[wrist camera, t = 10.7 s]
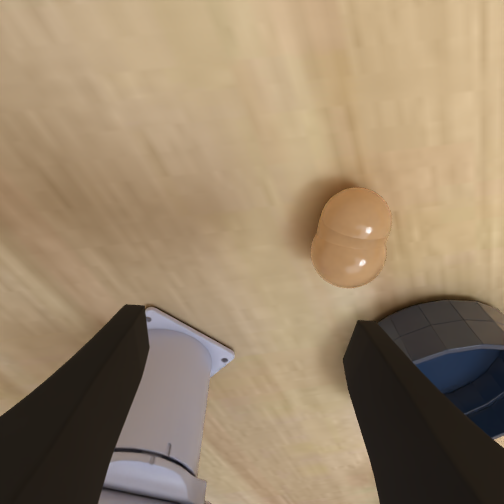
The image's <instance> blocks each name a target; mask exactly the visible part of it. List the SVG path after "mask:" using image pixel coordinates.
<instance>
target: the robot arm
mask: <svg viewBox="0 0 504 504" xmlns="http://www.w3.org/2000/svg"><path fill="white" fill-rule="evenodd" d="M147 317H150V318H147ZM234 355H235V353H234V351H232V350H231V349H229V348H227V347H225V346H224V345H222V344H220V343H218V342H216V341H214V340H213V339H211V338H209V337H207V336H205V335H204V334H202V333H200V332H198V331H196V330H195V329H193V328H191V327H189V326H187V325H186V324H184V323H182V322H180V321H178V320H177V319H175V318H173V317H171V316H169V315H167V314H166V313H164V312H162V311H160V310H158V309H157V308H154V307H148V308H147V309H146V310H145V306H141V305H127V304H126V305H125V306H123V307H122V308H121V309H120V310H119V311H118V312H117V313H116V314H115V315H114V316H113V318H112V319H111V320H110V321H109V322H108V323H107V324H106V325H105V326H104V327H103V328H102V329H101V330H100V331H99V332H98V333H97V334H96V335H95V336H94V337H93V338H92V339H91V340H90V341H89V342H88V343H86V344H85V345H84V346H83V347H82V348H81V349H80V350H79V351H78V352H77V353H76V354H75V355H74V356H73V357H72V358H71V359H70V360H68V361H67V362H66V363H65V364H64V365H63V366H62V367H61V368H59V369H58V370H57V371H56V372H55V373H54V374H53V375H51V376H50V377H49V378H48V379H47V380H46V381H45V382H43V383H42V384H41V385H40V386H39V387H37V388H36V389H35V390H34V391H33V392H31V393H30V394H29V395H28V396H26V397H25V398H24V399H23V400H21V401H20V402H19V403H17V404H16V405H15V406H14V407H12V408H11V409H10V410H8V411H7V412H6V413H4V414H3V415H2V416H0V504H211V503H210V502H208V501H205V492H206V483H207V482H206V481H205V480H202V479H199V478H197V474H198V467H199V459H200V451H201V444H202V436H203V428H204V420H205V413H206V405H207V397H208V389H209V382H210V377H212V376H213V375H214V374H215V373H217V372H218V371H219V370H220V369H222V368H223V367H224V366H225V365H227V364H228V363H229V362H230V361H232V360H233V359H234ZM343 363H344V369H345V375H346V380H347V386H348V390H349V394H350V397H351V400H352V404H353V407H354V410H355V413H356V417H357V420H358V423H359V426H360V429H361V433H362V436H363V439H364V442H365V446H366V449H367V452H368V455H369V458H370V462H371V466H372V470H373V473H374V477H375V482H376V487H377V491H378V496H379V501H380V504H504V448H503V447H502V446H500V445H499V444H498V443H497V442H496V441H494V440H493V439H492V438H491V437H490V436H489V435H487V434H486V433H485V432H484V431H483V430H482V429H481V428H479V427H478V426H477V425H476V424H475V423H474V422H473V421H471V420H470V419H469V418H468V417H467V416H466V415H465V414H464V413H463V412H462V411H460V410H459V409H458V408H457V407H456V406H455V405H454V404H453V403H452V402H451V401H450V400H449V399H448V398H447V397H446V396H445V395H444V394H443V393H442V392H441V391H440V390H439V389H438V388H437V387H436V386H435V385H434V384H433V383H432V382H431V381H430V380H429V379H428V378H427V377H426V376H425V375H424V374H423V373H422V372H421V371H420V370H419V369H418V368H417V366H416V365H415V364H414V363H413V362H412V361H411V360H410V359H409V358H408V357H407V356H406V355H405V353H404V352H403V351H402V350H401V349H400V348H399V347H398V346H397V345H396V343H395V342H394V341H393V340H392V339H391V338H390V337H389V336H388V335H387V333H386V332H385V331H384V330H383V329H382V328H381V327H380V326H379V325H378V324H377V323H376V322H375V321H362V320H358V321H357V324H356V326H355V329H354V332H353V334H352V337H351V340H350V342H349V345H348V347H347V350H346V353H345V355H344V358H343Z"/></svg>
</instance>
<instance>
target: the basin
mask: <svg viewBox="0 0 504 504" xmlns="http://www.w3.org/2000/svg"><path fill="white" fill-rule="evenodd" d="M377 324H378V325H379V326H380V327H381V328H382V329H383V330H384V331H385V332H386V333H387V335H388V336H389V337H390V338H391V339H392V340H393V341H394V342H395V343H396V345H397V346H398V347H399V348H400V349H401V350H402V351H403V352H404V353H405V355H406V356H407V357H408V358H409V359H410V360H411V361H412V362H413V363H414V364H415V365H416V366H417V368H418V369H419V370H420V371H421V372H422V373H423V374H424V375H425V376H426V377H427V378H428V379H429V380H430V381H431V382H432V383H433V384H434V385H435V386H436V387H437V388H438V389H439V390H440V391H441V392H442V393H443V394H444V395H445V396H446V397H447V398H448V399H449V400H450V401H451V402H452V403H453V404H454V405H455V406H456V407H457V408H458V409H459V410H460V411H462V412H463V413H464V414H465V415H466V416H467V417H468V418H469V419H470V420H471V421H473V422H474V423H475V424H476V425H477V426H478V427H479V428H481V429H482V430H483V431H484V432H485V433H486V434H487V435H489V436H490V437H491V438H492V439H493V440H494V439H496V438H499V437H501V436H504V315H503V314H502V313H501V312H500V311H499V310H498V309H496V308H494V307H491V306H488V305H485V304H483V303H480V302H477V301H465V300H441V301H432V302H427V303H422V304H417V305H414V306H410V307H407V308H405V309H402V310H400V311H397V312H395V313H393V314H391V315H389V316H387V317H386V318H384V319H382V320H381V321H379V322H378V323H377Z"/></svg>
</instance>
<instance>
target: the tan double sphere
mask: <svg viewBox="0 0 504 504" xmlns="http://www.w3.org/2000/svg"><path fill="white" fill-rule="evenodd" d="M391 226H392V216H391V211H390V209H389V207H388V205H387V203H386V201H385V200H384V199H383V198H382V197H381V196H380V195H378V194H377V193H376V192H374V191H372V190H369V189H366V188H359V187H354V188H348V189H345V190H342V191H340V192H338V193H336V194H335V195H334V196H332V197H331V198H330V199H329V200H328V201H327V203H326V204H325V206H324V208H323V210H322V213H321V216H320V220H319V224H318V228H317V232H316V234H315V236H314V238H313V241H312V244H311V259H312V263H313V266H314V268H315V270H316V271H317V273H318V274H319V275H320V276H321V277H322V278H323V279H324V280H325V281H327V282H328V283H330V284H332V285H334V286H337V287H341V288H357V287H361V286H363V285H366V284H368V283H369V282H371V281H372V280H373V279H375V278H376V277H377V276H378V274H379V273H380V272H381V270H382V268H383V266H384V264H385V261H386V256H387V249H386V241H387V239H388V236H389V233H390V230H391Z"/></svg>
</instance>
